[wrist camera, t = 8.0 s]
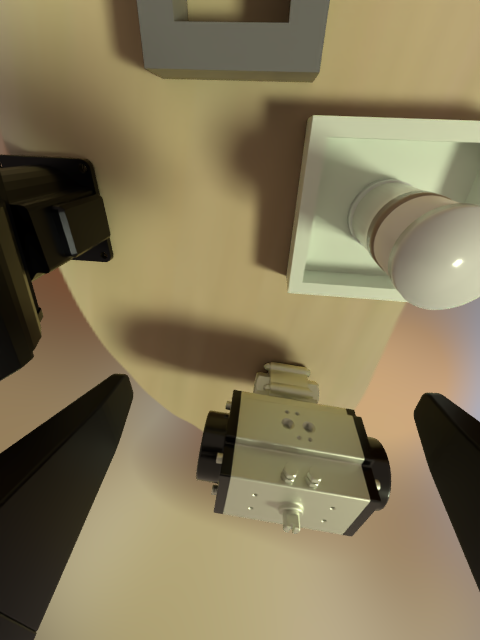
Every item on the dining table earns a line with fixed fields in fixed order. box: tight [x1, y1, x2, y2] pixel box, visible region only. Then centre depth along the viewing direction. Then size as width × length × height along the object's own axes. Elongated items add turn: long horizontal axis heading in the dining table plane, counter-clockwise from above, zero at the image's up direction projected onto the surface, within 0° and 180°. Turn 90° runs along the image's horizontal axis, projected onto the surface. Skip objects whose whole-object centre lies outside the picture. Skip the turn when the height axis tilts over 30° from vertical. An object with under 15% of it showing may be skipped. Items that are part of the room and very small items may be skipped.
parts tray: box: [286, 115, 480, 302], centre depth 16 cm, size 10×9×3 cm
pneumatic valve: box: [196, 362, 391, 536], centre depth 20 cm, size 6×12×12 cm, turn 83°
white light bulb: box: [347, 179, 480, 310], centre depth 13 cm, size 4×4×8 cm
